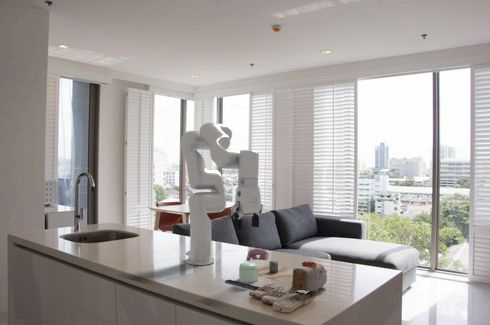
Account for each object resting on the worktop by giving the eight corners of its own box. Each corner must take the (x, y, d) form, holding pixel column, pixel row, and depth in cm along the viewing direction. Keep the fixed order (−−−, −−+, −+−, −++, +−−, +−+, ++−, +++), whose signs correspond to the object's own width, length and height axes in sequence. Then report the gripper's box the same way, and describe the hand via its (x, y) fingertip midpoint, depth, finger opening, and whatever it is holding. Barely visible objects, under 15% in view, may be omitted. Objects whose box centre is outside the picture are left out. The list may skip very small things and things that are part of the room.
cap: (249, 285, 141) (249, 267, 141) (235, 281, 145) (235, 264, 145) (261, 281, 146) (261, 264, 146) (247, 278, 150) (247, 261, 150)
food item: (308, 283, 147) (308, 256, 147) (328, 287, 142) (328, 259, 142) (289, 291, 136) (289, 263, 136) (310, 296, 131) (310, 266, 132)
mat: (225, 282, 146) (225, 280, 146) (242, 277, 154) (242, 275, 154) (254, 290, 137) (254, 288, 137) (271, 284, 144) (271, 282, 144)
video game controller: (268, 265, 181) (269, 250, 184) (266, 262, 177) (268, 247, 180) (247, 263, 184) (249, 249, 187) (245, 261, 180) (247, 246, 183)
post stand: (241, 275, 156) (241, 261, 156) (269, 267, 170) (269, 254, 170) (278, 284, 144) (278, 269, 144) (305, 275, 158) (305, 261, 158)
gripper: (239, 184, 140) (238, 232, 140) (270, 183, 153) (268, 227, 153) (224, 182, 145) (223, 229, 145) (255, 181, 158) (254, 224, 158)
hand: (246, 228), depth 149 cm, fingers open, 9 cm apart
